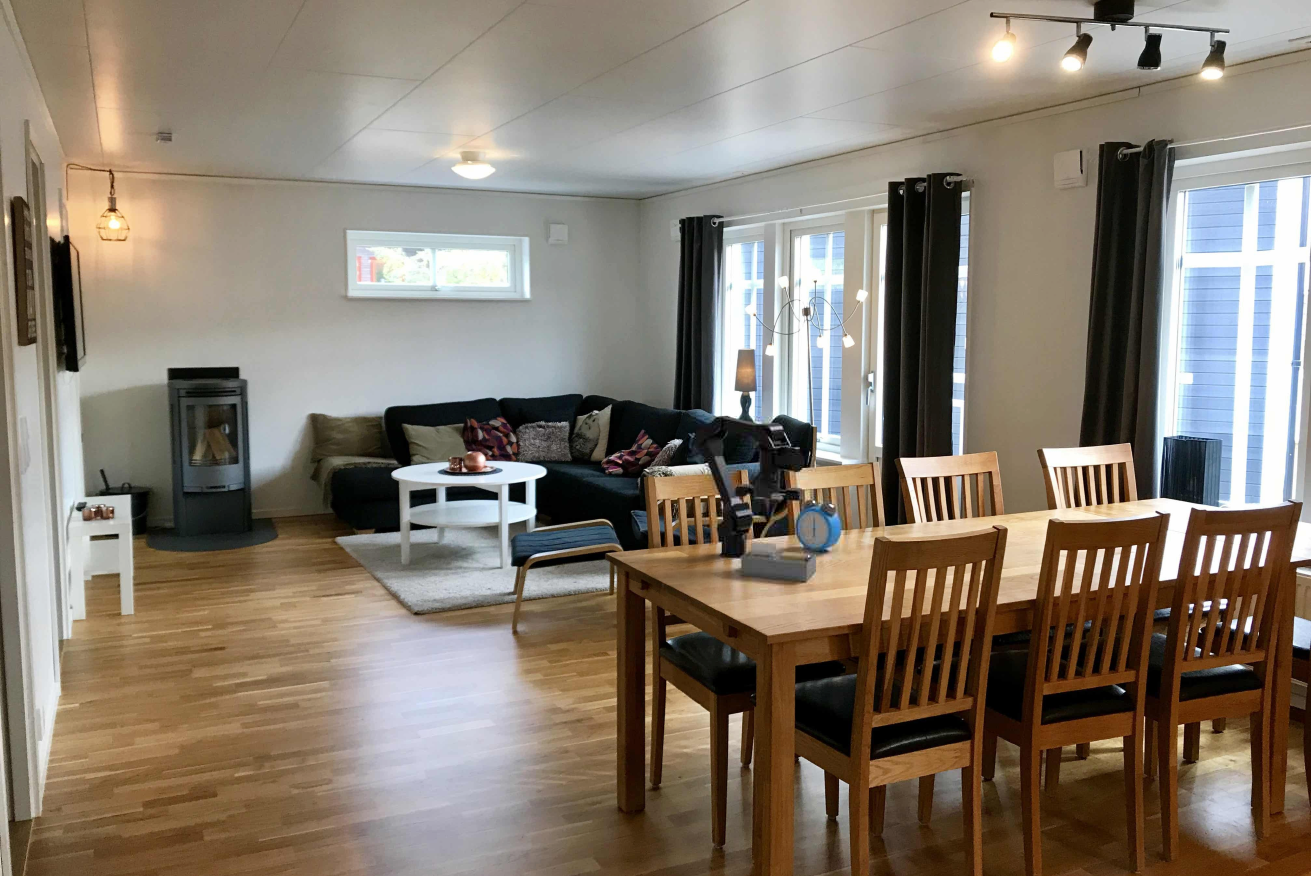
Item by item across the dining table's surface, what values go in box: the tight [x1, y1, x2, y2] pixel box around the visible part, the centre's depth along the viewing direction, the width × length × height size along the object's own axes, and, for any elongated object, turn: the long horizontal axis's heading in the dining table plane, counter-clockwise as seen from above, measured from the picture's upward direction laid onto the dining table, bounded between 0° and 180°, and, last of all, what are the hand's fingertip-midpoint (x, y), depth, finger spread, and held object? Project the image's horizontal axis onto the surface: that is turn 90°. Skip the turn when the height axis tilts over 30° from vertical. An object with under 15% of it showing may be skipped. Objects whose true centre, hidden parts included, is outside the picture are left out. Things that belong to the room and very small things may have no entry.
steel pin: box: [749, 541, 777, 557], centre depth 285 cm, size 6×3×8 cm, turn 70°
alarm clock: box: [794, 499, 842, 554], centre depth 312 cm, size 13×6×15 cm, turn 48°
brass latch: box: [781, 551, 812, 560], centre depth 281 cm, size 8×4×1 cm, turn 70°
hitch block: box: [740, 550, 817, 583], centre depth 283 cm, size 18×12×5 cm, turn 70°
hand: (768, 522), depth 294 cm, fingers closed
